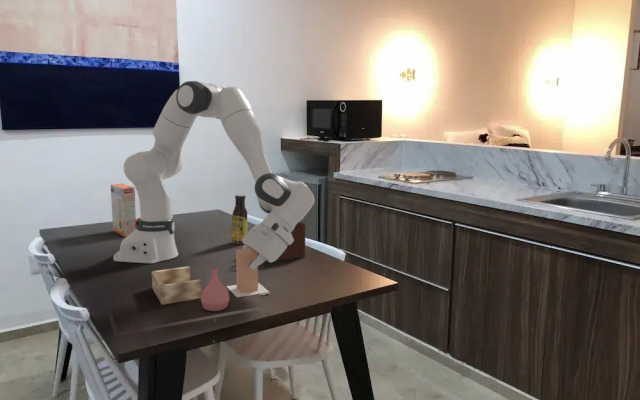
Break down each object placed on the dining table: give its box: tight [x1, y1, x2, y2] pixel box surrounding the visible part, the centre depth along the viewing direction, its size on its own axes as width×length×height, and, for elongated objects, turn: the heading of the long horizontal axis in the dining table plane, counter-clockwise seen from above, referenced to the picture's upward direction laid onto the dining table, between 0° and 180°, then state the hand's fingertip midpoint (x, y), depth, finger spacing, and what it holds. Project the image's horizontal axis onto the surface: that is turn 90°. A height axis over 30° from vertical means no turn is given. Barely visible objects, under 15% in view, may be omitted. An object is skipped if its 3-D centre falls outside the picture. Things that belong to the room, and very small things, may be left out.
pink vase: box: [200, 267, 230, 312], centre depth 138 cm, size 8×8×12 cm
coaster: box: [225, 282, 270, 298], centre depth 153 cm, size 10×10×1 cm
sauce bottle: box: [231, 193, 249, 245], centre depth 205 cm, size 7×6×20 cm
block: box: [235, 248, 259, 293], centre depth 152 cm, size 5×5×12 cm
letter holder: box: [258, 221, 306, 263], centre depth 187 cm, size 10×20×14 cm, turn 117°
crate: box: [150, 266, 203, 305], centre depth 149 cm, size 11×14×6 cm
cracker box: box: [110, 183, 137, 238], centre depth 218 cm, size 14×6×21 cm, turn 39°
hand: (245, 263), depth 151 cm, fingers open, 8 cm apart
